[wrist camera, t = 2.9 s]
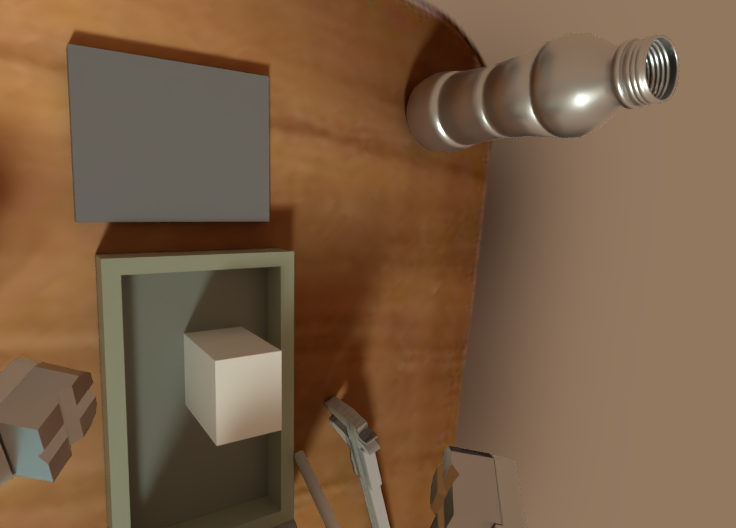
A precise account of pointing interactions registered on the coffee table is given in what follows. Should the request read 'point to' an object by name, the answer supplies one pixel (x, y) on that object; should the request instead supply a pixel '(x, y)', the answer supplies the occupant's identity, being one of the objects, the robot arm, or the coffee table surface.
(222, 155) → the rubber mat
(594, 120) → the plastic bottle
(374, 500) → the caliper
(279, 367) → the block
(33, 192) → the coffee table surface
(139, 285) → the equipment case
